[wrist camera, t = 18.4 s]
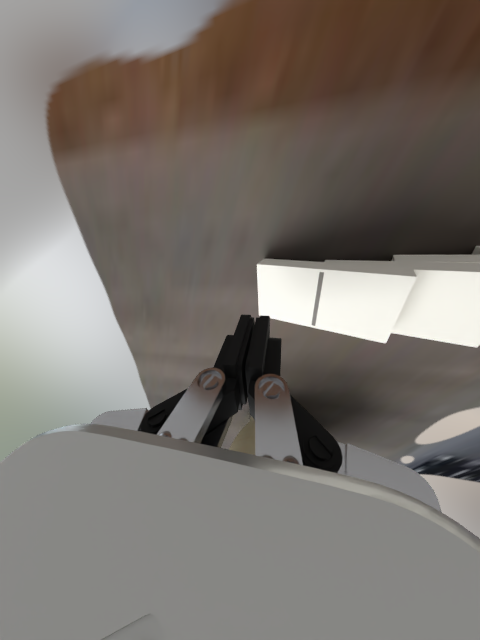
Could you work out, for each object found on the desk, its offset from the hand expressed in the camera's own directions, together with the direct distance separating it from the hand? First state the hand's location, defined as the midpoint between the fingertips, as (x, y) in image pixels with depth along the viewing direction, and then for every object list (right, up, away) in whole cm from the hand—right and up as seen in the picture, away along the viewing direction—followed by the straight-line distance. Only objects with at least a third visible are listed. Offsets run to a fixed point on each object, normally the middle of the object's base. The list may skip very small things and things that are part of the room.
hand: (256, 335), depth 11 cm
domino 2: (+6, +3, +5) cm, 8 cm away
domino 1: (+1, +4, +6) cm, 7 cm away
